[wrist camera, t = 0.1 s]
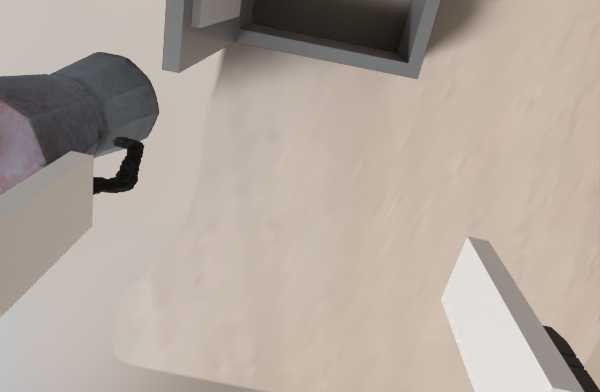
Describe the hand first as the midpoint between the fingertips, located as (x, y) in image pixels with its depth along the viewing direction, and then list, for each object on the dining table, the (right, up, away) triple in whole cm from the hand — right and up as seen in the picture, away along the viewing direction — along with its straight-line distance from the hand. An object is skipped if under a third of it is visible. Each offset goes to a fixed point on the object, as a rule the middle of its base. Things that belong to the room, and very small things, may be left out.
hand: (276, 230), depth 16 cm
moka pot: (-16, +10, +27) cm, 33 cm away
